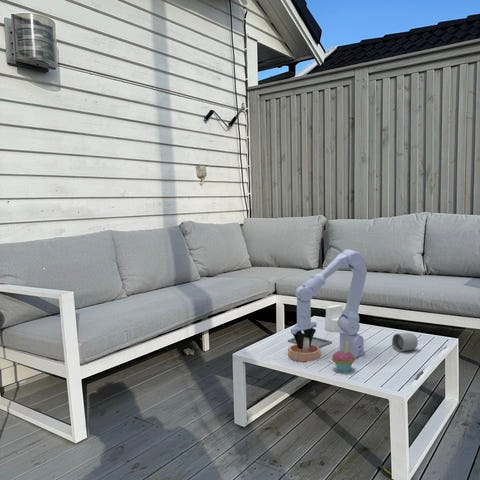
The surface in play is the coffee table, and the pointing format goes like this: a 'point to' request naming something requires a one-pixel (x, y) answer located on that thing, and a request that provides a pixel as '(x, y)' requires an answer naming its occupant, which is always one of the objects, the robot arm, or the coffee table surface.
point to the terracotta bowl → (303, 353)
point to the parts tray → (314, 341)
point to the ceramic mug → (404, 341)
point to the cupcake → (343, 360)
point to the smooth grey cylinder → (305, 345)
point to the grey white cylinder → (333, 318)
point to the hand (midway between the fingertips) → (304, 347)
